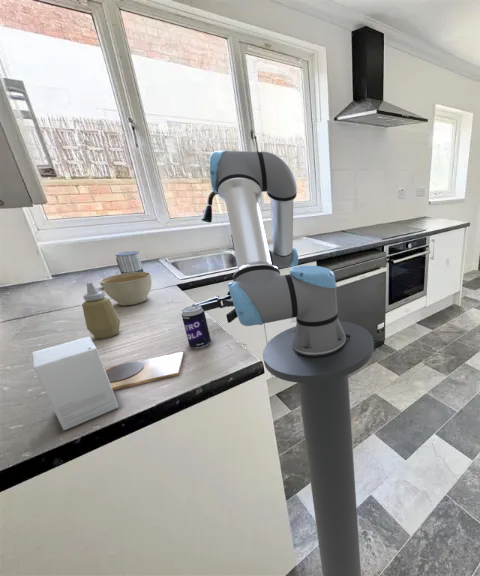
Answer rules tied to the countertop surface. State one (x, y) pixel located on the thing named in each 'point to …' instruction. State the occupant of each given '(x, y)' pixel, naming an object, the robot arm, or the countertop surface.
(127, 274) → the planter bowl
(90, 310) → the squeeze bottle
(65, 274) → the countertop surface
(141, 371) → the board
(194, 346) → the beverage can
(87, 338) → the rectangular carton
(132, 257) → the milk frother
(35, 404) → the countertop surface
